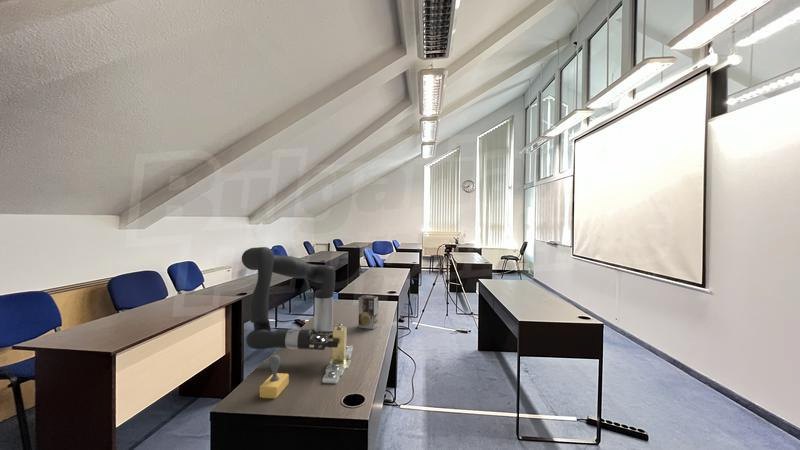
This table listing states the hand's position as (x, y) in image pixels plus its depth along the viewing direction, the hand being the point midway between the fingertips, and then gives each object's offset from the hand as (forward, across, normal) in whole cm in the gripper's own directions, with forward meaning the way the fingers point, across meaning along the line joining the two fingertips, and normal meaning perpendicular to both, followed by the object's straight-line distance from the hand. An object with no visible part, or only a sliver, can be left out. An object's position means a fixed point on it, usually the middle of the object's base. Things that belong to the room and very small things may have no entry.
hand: (340, 340), depth 137 cm
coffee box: (+5, +48, +10) cm, 49 cm away
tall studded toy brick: (0, 0, +9) cm, 9 cm away
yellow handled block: (-17, -22, +10) cm, 30 cm away
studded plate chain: (0, 0, +10) cm, 10 cm away
